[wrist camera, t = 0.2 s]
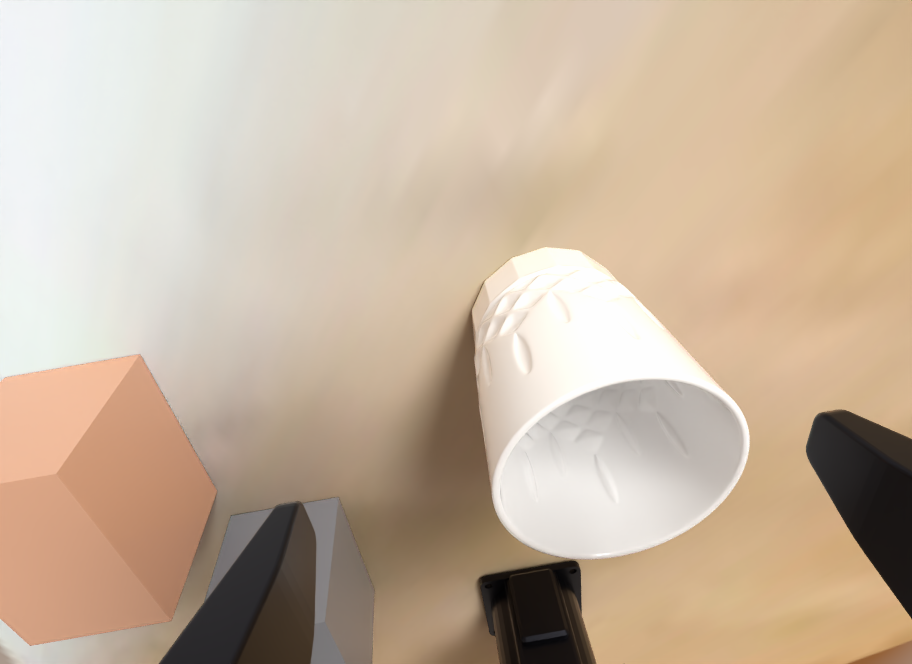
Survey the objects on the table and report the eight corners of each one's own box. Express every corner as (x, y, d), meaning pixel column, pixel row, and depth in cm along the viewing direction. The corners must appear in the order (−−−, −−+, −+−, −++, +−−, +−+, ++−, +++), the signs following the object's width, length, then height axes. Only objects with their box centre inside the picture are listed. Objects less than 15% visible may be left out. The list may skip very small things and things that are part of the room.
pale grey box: (374, 590, 35) (370, 713, 29) (282, 606, 34) (259, 732, 29) (338, 496, 30) (324, 622, 24) (231, 515, 30) (190, 645, 24)
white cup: (485, 401, 27) (526, 584, 19) (434, 267, 23) (458, 426, 14) (637, 353, 26) (751, 522, 18) (615, 207, 22) (749, 336, 14)
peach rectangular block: (217, 491, 29) (171, 620, 23) (105, 510, 29) (30, 645, 23) (139, 354, 24) (55, 474, 18) (5, 377, 24) (-124, 505, 18)
